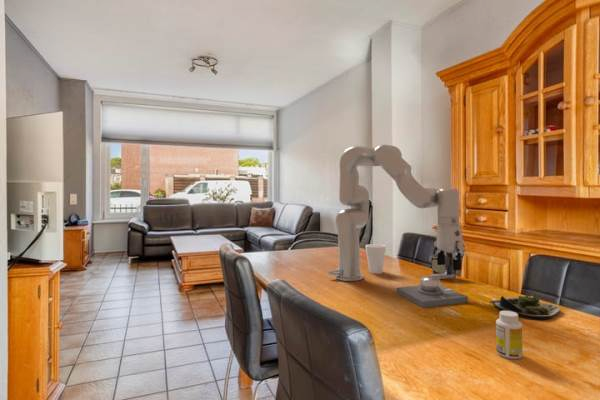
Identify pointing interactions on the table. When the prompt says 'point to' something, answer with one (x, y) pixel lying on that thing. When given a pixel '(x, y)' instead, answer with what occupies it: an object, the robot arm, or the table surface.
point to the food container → (439, 267)
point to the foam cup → (375, 257)
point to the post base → (431, 296)
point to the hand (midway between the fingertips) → (448, 267)
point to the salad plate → (527, 307)
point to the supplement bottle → (509, 335)
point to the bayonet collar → (438, 276)
